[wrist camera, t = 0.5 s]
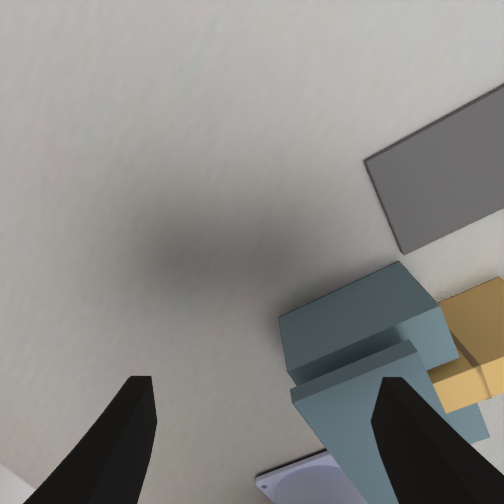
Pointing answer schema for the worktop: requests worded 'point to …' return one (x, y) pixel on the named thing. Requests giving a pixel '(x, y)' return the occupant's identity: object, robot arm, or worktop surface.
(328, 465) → the robot arm
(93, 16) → the worktop surface
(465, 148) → the pad
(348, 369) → the teal block stack
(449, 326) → the tan grooved block
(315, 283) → the worktop surface
